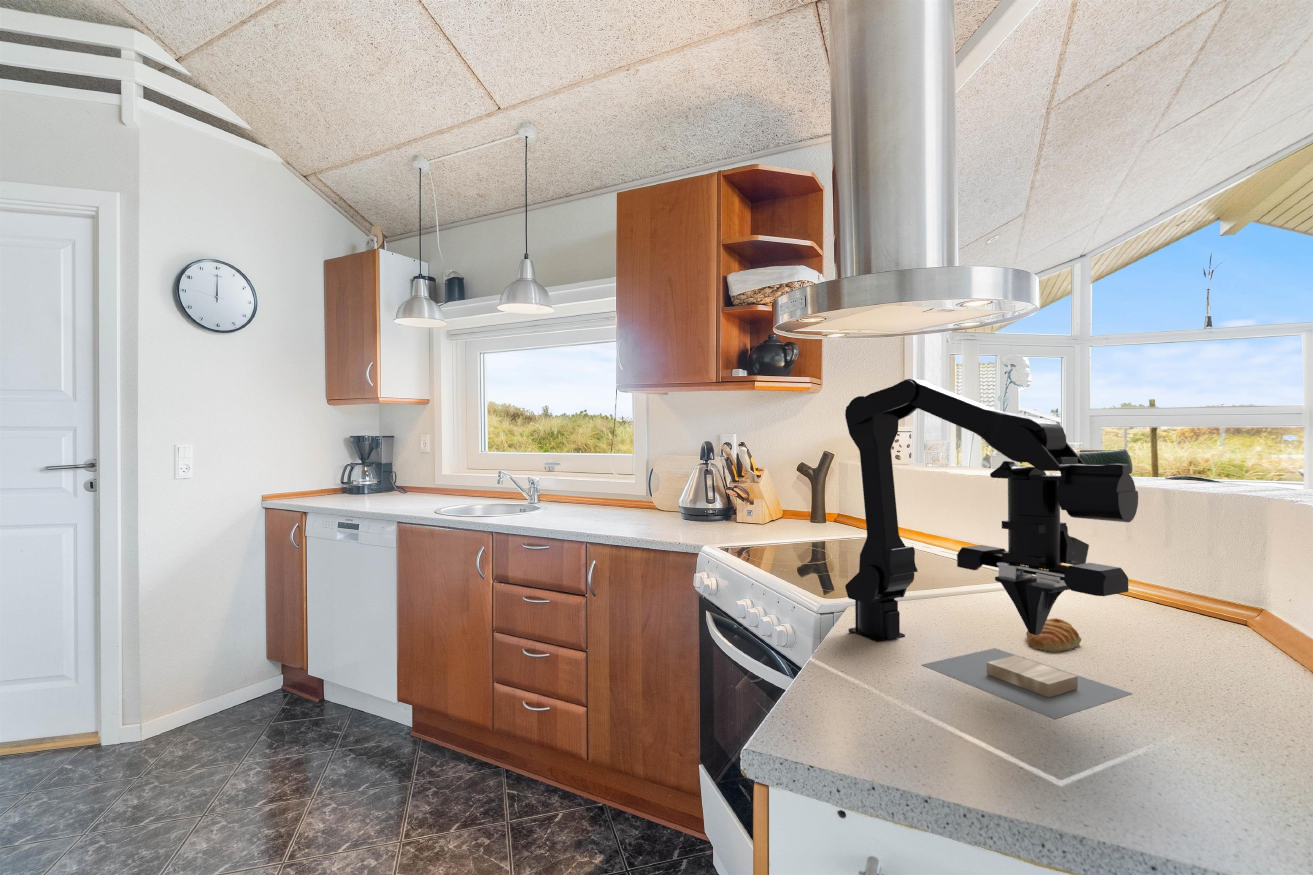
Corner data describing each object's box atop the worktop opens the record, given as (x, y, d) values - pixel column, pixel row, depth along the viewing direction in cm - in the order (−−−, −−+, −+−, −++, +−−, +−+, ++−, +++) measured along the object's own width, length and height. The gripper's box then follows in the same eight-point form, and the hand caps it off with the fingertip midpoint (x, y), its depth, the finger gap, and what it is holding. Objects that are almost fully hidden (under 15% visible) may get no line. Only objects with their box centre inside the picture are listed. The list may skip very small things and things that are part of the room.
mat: (920, 667, 81) (920, 664, 81) (994, 650, 88) (994, 647, 88) (1054, 722, 65) (1054, 718, 65) (1132, 696, 72) (1132, 693, 72)
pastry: (1069, 660, 85) (1068, 634, 85) (1017, 649, 90) (1016, 624, 90) (1082, 645, 91) (1082, 621, 91) (1033, 635, 96) (1032, 612, 96)
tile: (986, 662, 78) (1048, 684, 70) (1015, 655, 80) (1077, 675, 73) (986, 674, 78) (1048, 698, 70) (1015, 667, 80) (1077, 689, 73)
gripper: (1152, 519, 70) (1154, 647, 70) (1004, 505, 87) (1005, 608, 87) (1099, 524, 65) (1101, 661, 65) (953, 508, 82) (954, 617, 82)
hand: (1034, 633), depth 75 cm, fingers closed
